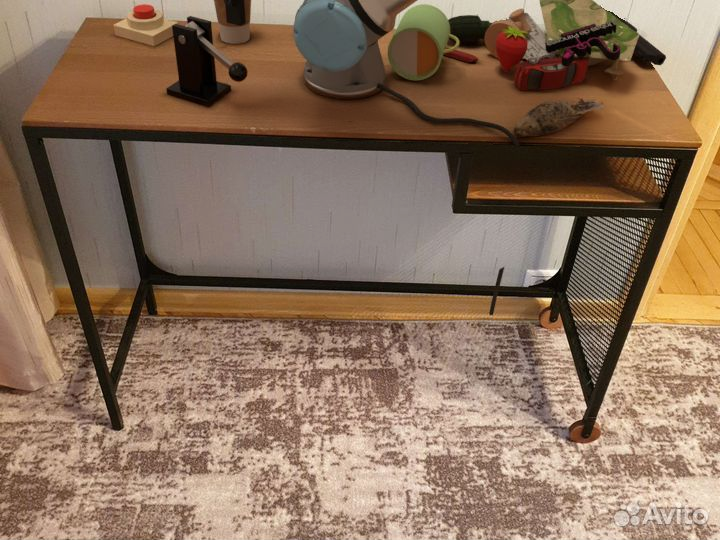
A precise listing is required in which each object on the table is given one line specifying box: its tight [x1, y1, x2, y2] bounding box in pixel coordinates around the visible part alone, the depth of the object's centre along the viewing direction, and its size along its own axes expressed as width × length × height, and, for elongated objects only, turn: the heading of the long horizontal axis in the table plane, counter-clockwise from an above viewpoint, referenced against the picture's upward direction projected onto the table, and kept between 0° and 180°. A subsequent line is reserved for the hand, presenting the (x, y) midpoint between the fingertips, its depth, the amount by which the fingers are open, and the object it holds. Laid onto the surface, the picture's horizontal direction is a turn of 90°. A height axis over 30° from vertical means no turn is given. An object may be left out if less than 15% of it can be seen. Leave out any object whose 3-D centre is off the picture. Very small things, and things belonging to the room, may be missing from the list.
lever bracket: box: [166, 15, 232, 108], centre depth 125 cm, size 9×7×13 cm
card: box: [538, 0, 640, 62], centre depth 142 cm, size 22×25×1 cm
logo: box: [546, 21, 620, 66], centre depth 134 cm, size 13×2×10 cm
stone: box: [492, 12, 562, 61], centre depth 151 cm, size 22×3×10 cm
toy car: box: [513, 56, 589, 91], centre depth 137 cm, size 6×15×5 cm
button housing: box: [112, 8, 179, 47], centre depth 146 cm, size 10×8×4 cm
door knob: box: [484, 8, 532, 60], centre depth 145 cm, size 8×10×8 cm
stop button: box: [132, 3, 155, 19], centre depth 145 cm, size 4×4×2 cm
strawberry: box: [496, 22, 530, 73], centre depth 138 cm, size 6×8×10 cm
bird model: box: [512, 98, 606, 138], centre depth 125 cm, size 21×6×5 cm, turn 126°
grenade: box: [448, 14, 493, 45], centre depth 149 cm, size 6×6×12 cm
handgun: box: [606, 10, 667, 66], centre depth 156 cm, size 4×29×15 cm
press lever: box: [184, 21, 249, 83], centre depth 123 cm, size 13×3×3 cm, turn 63°
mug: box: [387, 3, 461, 81], centre depth 137 cm, size 13×10×12 cm
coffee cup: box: [213, 0, 252, 45], centre depth 143 cm, size 8×8×15 cm
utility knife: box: [443, 46, 479, 63], centre depth 146 cm, size 12×1×2 cm
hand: (236, 22), depth 117 cm, fingers closed
